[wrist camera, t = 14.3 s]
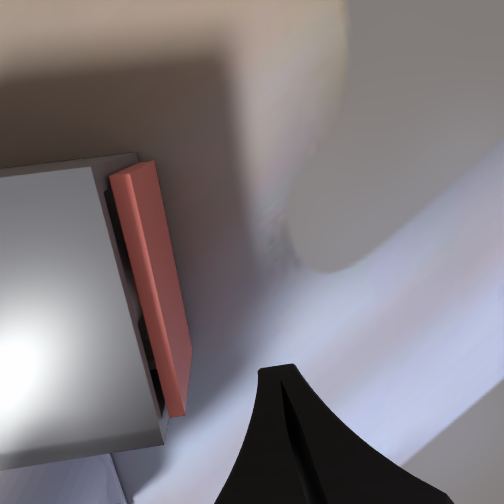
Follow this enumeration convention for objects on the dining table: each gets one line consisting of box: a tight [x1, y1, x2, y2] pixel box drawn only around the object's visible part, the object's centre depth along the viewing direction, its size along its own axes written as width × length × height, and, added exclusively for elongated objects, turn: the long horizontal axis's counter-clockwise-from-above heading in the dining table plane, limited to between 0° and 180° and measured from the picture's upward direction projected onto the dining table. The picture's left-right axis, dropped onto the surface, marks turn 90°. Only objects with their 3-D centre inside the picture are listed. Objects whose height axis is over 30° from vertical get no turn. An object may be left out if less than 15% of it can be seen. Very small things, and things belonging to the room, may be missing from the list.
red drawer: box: [103, 161, 193, 418], centre depth 18 cm, size 12×11×6 cm
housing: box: [0, 152, 169, 471], centre depth 18 cm, size 13×11×7 cm
